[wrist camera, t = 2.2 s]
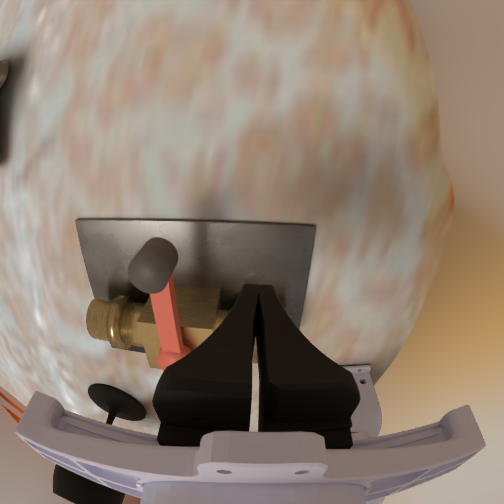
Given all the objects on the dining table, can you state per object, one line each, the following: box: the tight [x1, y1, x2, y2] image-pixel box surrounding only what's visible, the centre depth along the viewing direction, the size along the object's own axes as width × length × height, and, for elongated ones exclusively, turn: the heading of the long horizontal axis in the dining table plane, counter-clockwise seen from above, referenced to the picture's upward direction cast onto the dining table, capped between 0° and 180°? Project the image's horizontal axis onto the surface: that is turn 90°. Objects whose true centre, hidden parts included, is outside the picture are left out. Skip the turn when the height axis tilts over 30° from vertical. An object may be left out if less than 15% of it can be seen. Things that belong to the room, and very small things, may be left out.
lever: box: [128, 237, 192, 370], centre depth 18 cm, size 12×3×2 cm, turn 178°
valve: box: [75, 219, 316, 369], centre depth 23 cm, size 21×16×6 cm
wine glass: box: [53, 384, 146, 504], centre depth 28 cm, size 10×10×20 cm
